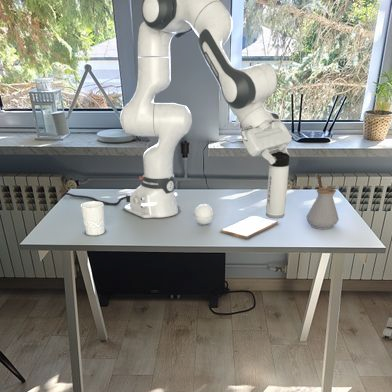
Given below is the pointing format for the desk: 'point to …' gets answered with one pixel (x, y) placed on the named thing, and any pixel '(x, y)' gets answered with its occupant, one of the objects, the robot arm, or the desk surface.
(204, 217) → the seamed sphere
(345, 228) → the desk surface
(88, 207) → the white cup
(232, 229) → the white flat rectangular slab
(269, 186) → the travel mug
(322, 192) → the coffee pot
